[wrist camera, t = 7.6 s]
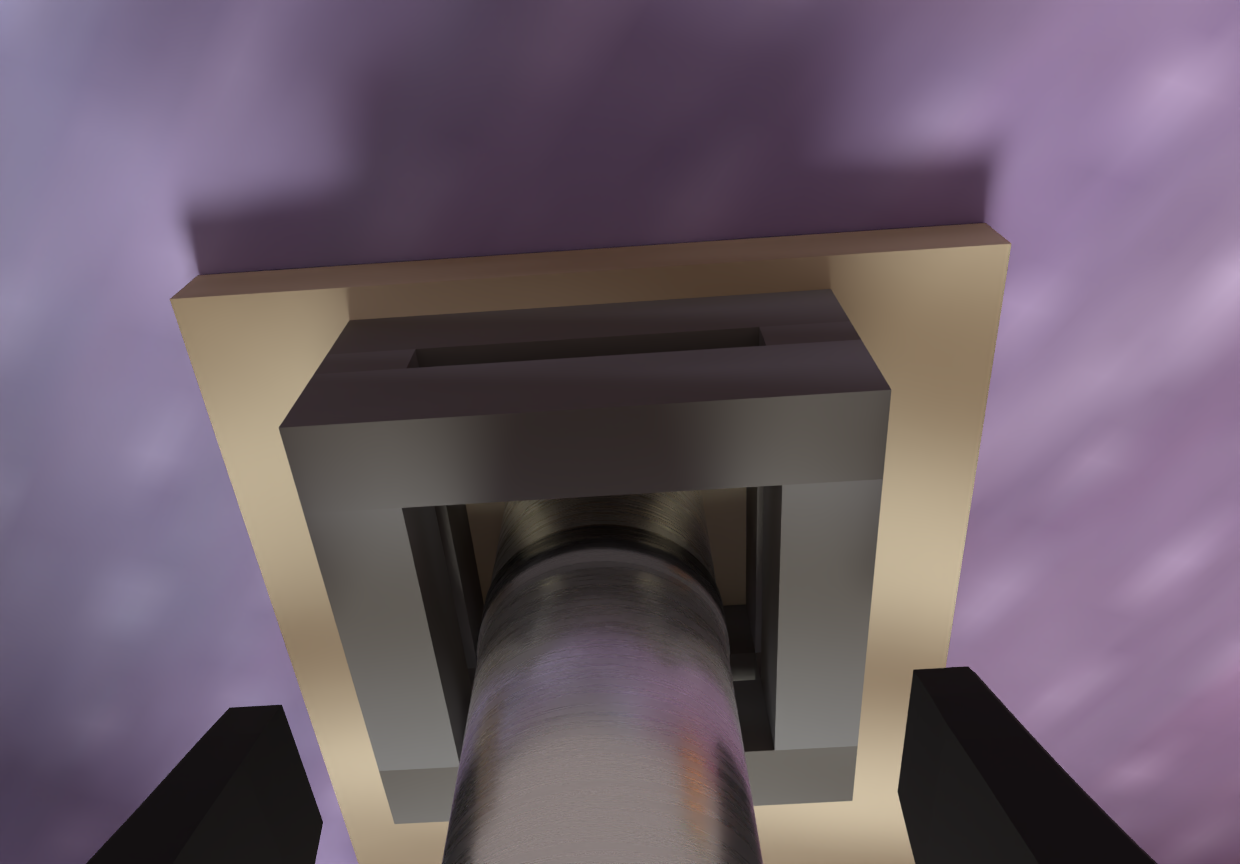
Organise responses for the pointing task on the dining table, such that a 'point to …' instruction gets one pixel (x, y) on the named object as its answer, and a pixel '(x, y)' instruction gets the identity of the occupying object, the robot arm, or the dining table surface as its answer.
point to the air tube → (603, 694)
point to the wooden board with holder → (614, 486)
